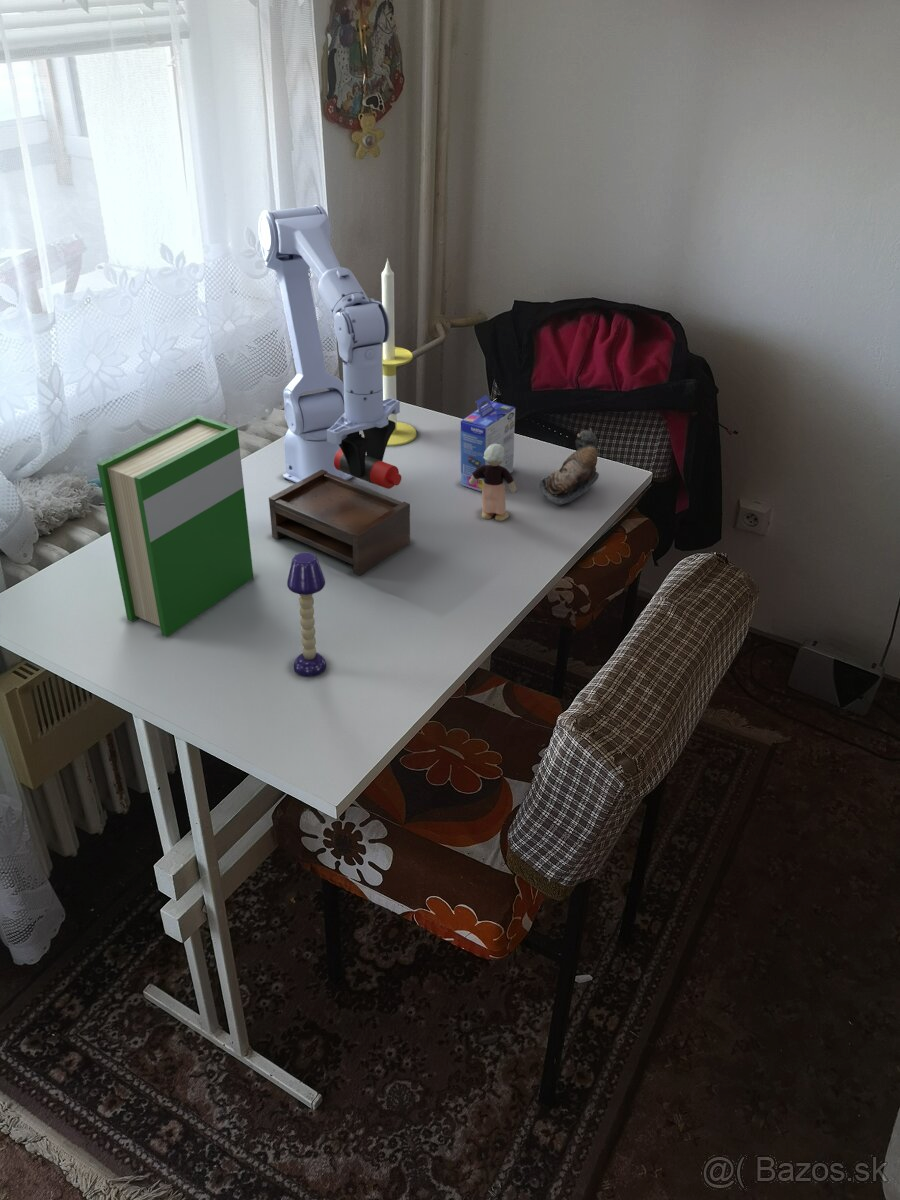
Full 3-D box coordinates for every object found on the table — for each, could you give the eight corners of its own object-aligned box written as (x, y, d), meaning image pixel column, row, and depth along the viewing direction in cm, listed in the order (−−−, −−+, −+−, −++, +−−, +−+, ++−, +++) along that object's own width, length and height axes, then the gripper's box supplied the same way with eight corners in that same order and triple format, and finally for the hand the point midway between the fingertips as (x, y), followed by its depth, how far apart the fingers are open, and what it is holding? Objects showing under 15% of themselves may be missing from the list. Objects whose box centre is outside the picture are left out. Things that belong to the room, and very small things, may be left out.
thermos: (333, 473, 160) (332, 452, 157) (349, 465, 162) (348, 443, 160) (390, 495, 154) (390, 473, 152) (405, 486, 157) (405, 464, 155)
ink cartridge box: (487, 463, 183) (490, 386, 175) (514, 471, 181) (519, 394, 172) (457, 485, 176) (459, 406, 168) (485, 494, 174) (488, 414, 165)
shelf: (272, 537, 161) (268, 497, 157) (324, 507, 169) (322, 469, 165) (359, 576, 152) (358, 535, 148) (410, 543, 160) (410, 503, 156)
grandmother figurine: (515, 511, 169) (519, 440, 162) (514, 522, 166) (518, 451, 159) (468, 508, 170) (471, 437, 162) (466, 519, 167) (469, 448, 159)
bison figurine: (566, 514, 169) (571, 459, 163) (530, 500, 172) (534, 446, 166) (603, 487, 176) (610, 433, 171) (568, 474, 180) (574, 422, 174)
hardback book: (166, 637, 139) (139, 479, 125) (127, 619, 142) (96, 463, 129) (253, 577, 151) (237, 427, 138) (215, 562, 155) (196, 414, 141)
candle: (398, 450, 186) (396, 270, 168) (352, 437, 190) (345, 260, 172) (427, 430, 193) (428, 255, 175) (382, 418, 198) (379, 246, 179)
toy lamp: (294, 655, 136) (285, 548, 127) (330, 654, 137) (323, 547, 127) (293, 678, 132) (284, 569, 123) (329, 676, 133) (323, 568, 123)
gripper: (351, 410, 143) (354, 496, 151) (415, 378, 153) (415, 460, 161) (313, 397, 146) (318, 482, 154) (378, 367, 156) (380, 448, 164)
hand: (365, 470), depth 158 cm, fingers closed on thermos, 4 cm apart
